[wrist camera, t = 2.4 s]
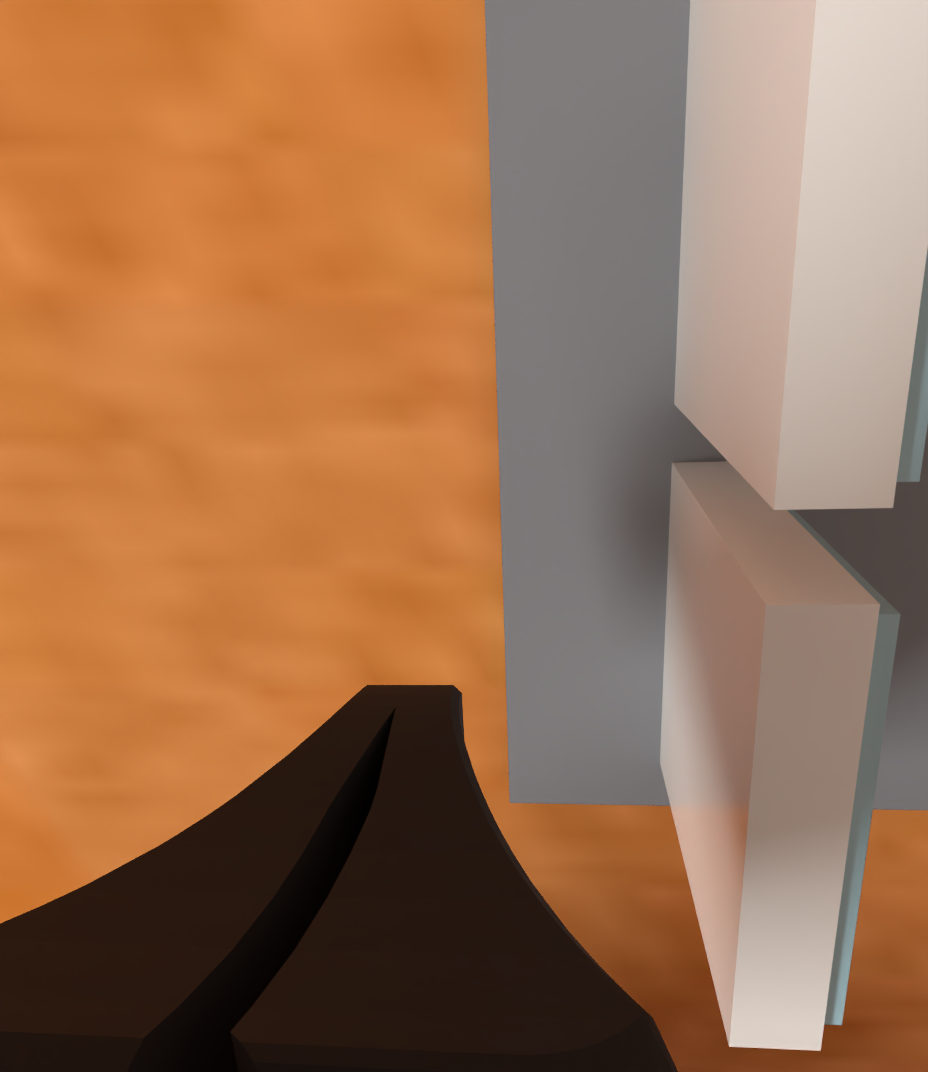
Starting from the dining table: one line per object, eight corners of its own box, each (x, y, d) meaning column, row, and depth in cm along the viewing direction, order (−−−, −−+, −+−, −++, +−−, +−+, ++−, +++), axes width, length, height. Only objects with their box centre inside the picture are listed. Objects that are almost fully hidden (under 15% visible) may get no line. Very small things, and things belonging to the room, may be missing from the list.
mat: (1180, 795, 16) (1205, 815, 15) (510, 785, 17) (509, 802, 16) (1440, -103, 11) (1490, -123, 10) (486, -26, 12) (483, -40, 12)
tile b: (760, 401, 13) (925, 507, 8) (673, 404, 13) (773, 510, 8) (791, -24, 11) (1044, -303, 6) (690, -16, 11) (838, -282, 6)
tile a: (734, 763, 16) (846, 1052, 10) (659, 762, 16) (729, 1047, 10) (756, 460, 14) (911, 604, 8) (671, 462, 14) (766, 604, 8)
